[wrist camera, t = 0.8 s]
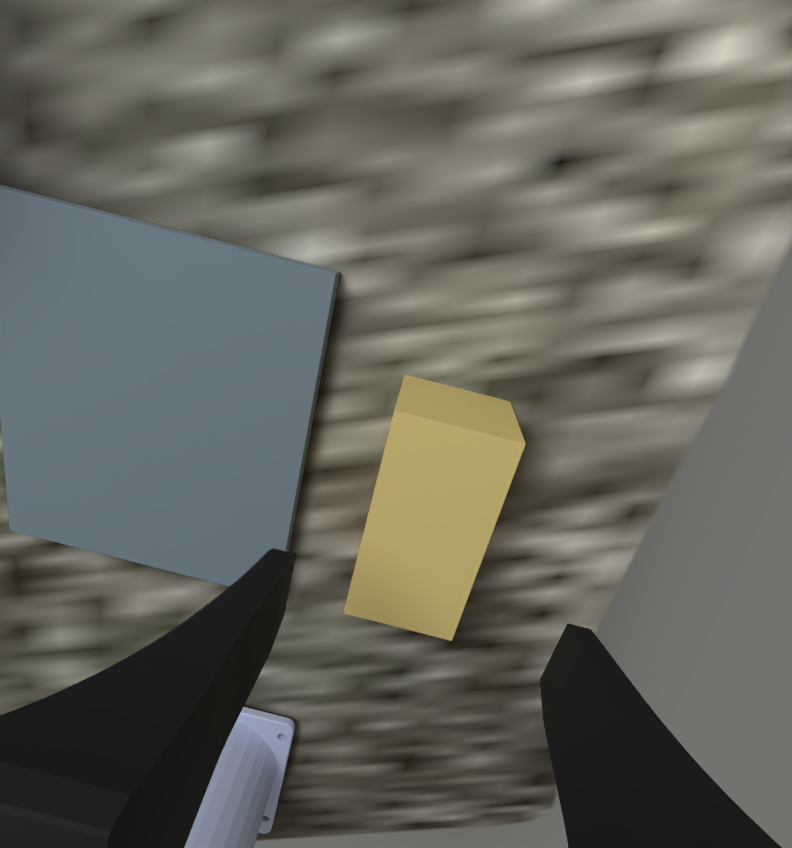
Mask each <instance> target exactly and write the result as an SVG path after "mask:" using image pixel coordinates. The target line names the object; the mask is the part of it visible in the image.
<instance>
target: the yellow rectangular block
mask: <svg viewBox="0 0 792 848" xmlns="http://www.w3.org/2000/svg"><path fill="white" fill-rule="evenodd" d="M524 447H525V441H524V438H523V435H522V433H521V430H520V427H519V425H518V422H517V419H516V416H515V414H514V411H513V408H512V405H511V403H510V401H506V400H502V399H498V398H494V397H490V396H486V395H482V394H478V393H474V392H470V391H467V390H463V389H459V388H455V387H451V386H447V385H443V384H439V383H435V382H431V381H428V380H424V379H420V378H416V377H412V376H408V375H404V379H403V382H402V386H401V389H400V393H399V396H398V400H397V404H396V407H395V411H394V415H393V419H392V423H391V427H390V431H389V434H388V438H387V442H386V446H385V450H384V454H383V458H382V462H381V466H380V470H379V474H378V478H377V482H376V486H375V490H374V494H373V498H372V502H371V506H370V510H369V514H368V518H367V522H366V526H365V530H364V533H363V537H362V541H361V545H360V549H359V553H358V557H357V561H356V565H355V569H354V573H353V577H352V581H351V585H350V589H349V593H348V597H347V601H346V605H345V609H344V613H345V614H349V615H353V616H356V617H360V618H364V619H368V620H372V621H376V622H380V623H384V624H388V625H392V626H396V627H399V628H403V629H407V630H411V631H415V632H419V633H423V634H427V635H431V636H435V637H438V638H442V639H446V640H450V641H452V639H453V636H454V634H455V631H456V628H457V626H458V623H459V620H460V618H461V615H462V612H463V610H464V607H465V604H466V602H467V599H468V596H469V594H470V591H471V588H472V586H473V583H474V580H475V578H476V575H477V572H478V570H479V567H480V564H481V562H482V559H483V556H484V554H485V551H486V548H487V546H488V543H489V540H490V538H491V535H492V532H493V530H494V527H495V524H496V522H497V519H498V516H499V514H500V511H501V508H502V506H503V503H504V500H505V498H506V495H507V492H508V490H509V487H510V484H511V482H512V479H513V476H514V474H515V471H516V468H517V466H518V463H519V460H520V458H521V455H522V452H523V450H524Z"/></svg>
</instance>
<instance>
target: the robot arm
mask: <svg viewBox="0 0 792 848" xmlns="http://www.w3.org/2000/svg"><path fill="white" fill-rule="evenodd" d="M295 556H296V554H294V553H290V552H286V551H282V550H278V549H274V548H272V549H270V550H268V551H267V552H266V553H265V554H264V555H263V556H262V557H261V558H260V559H259V560H258V561H257V562H256V563H255V564H254V565H253V566H252V567H251V568H250V569H249V570H248V571H247V572H246V573H245V574H243V575H242V576H241V577H240V578H239V579H238V580H237V581H236V582H234V583H233V584H232V585H231V586H230V587H228V588H227V589H226V590H225V591H224V592H222V593H221V594H220V595H219V596H218V597H216V598H215V599H214V600H213V601H211V602H210V603H209V604H207V605H206V606H205V607H203V608H202V609H201V610H199V611H198V612H197V613H195V614H194V615H193V616H191V617H190V618H189V619H187V620H186V621H185V622H183V623H182V624H180V625H179V626H177V627H176V628H174V629H173V630H171V631H170V632H168V633H167V634H165V635H164V636H162V637H161V638H159V639H157V640H156V641H154V642H153V643H151V644H149V645H148V646H146V647H144V648H143V649H141V650H139V651H137V652H136V653H134V654H132V655H131V656H129V657H127V658H125V659H124V660H122V661H120V662H118V663H116V664H114V665H113V666H111V667H109V668H107V669H105V670H103V671H101V672H99V673H97V674H95V675H93V676H91V677H89V678H87V679H85V680H82V681H80V682H78V683H76V684H74V685H72V686H70V687H68V688H66V689H64V690H62V691H60V692H57V693H55V694H53V695H51V696H48V697H46V698H44V699H41V700H39V701H36V702H34V703H31V704H29V705H26V706H24V707H21V708H18V709H16V710H13V711H11V712H8V713H6V714H3V715H1V716H0V848H253V847H254V844H255V841H256V838H257V834H258V833H262V834H266V833H269V832H270V831H271V829H272V825H273V821H274V817H275V813H276V808H277V804H278V800H279V795H280V791H281V787H282V782H283V778H284V773H285V769H286V765H287V760H288V756H289V752H290V747H291V743H292V739H293V734H294V730H295V723H294V722H293V721H292V720H291V719H289V718H287V717H283V716H279V715H275V714H271V713H267V712H263V711H259V710H255V709H251V708H247V707H244V705H245V703H246V701H247V699H248V696H249V694H250V692H251V690H252V688H253V686H254V684H255V682H256V680H257V678H258V676H259V674H260V672H261V670H262V668H263V666H264V664H265V662H266V660H267V658H268V656H269V654H270V652H271V649H272V646H273V644H274V641H275V638H276V636H277V633H278V630H279V627H280V625H281V622H282V619H283V616H284V613H285V608H286V603H287V598H288V592H289V587H290V582H291V577H292V571H293V566H294V561H295ZM540 684H541V698H542V710H543V720H544V726H545V731H546V736H547V741H548V746H549V751H550V756H551V761H552V766H553V770H554V775H555V780H556V785H557V790H558V794H559V799H560V804H561V809H562V813H563V818H564V823H565V829H566V834H567V841H568V847H569V848H781V847H780V846H779V845H778V844H777V843H776V842H775V841H774V840H773V839H772V838H771V837H770V836H769V835H767V833H766V832H764V831H763V830H762V829H761V828H760V827H759V826H758V825H757V824H756V823H755V822H754V821H753V820H752V819H751V818H750V817H749V816H748V815H746V814H745V812H744V811H743V810H742V809H741V808H740V807H739V806H738V805H737V804H735V802H734V801H733V800H732V799H731V798H730V797H728V795H727V794H726V793H725V792H724V791H723V790H722V789H721V788H720V787H719V786H718V785H717V784H716V783H715V782H714V781H713V780H712V778H711V777H710V776H709V775H708V774H707V773H706V772H705V771H704V770H703V769H702V768H701V767H700V766H699V765H698V763H697V762H696V761H695V760H694V759H693V758H692V757H691V756H690V755H689V753H688V752H687V751H686V750H685V749H684V748H683V746H682V745H681V744H680V743H679V742H678V741H677V739H676V738H675V737H674V736H673V735H672V733H671V732H670V731H669V730H668V729H667V727H666V726H665V725H664V724H663V723H662V721H661V720H660V719H659V718H658V717H657V715H656V714H655V713H654V711H653V710H652V709H651V708H650V706H649V705H648V704H647V703H646V701H645V700H644V699H643V697H642V696H641V695H640V693H639V692H638V691H637V690H636V688H635V687H634V686H633V684H632V683H631V682H630V680H629V679H628V678H627V677H626V675H625V674H624V672H623V671H622V670H621V668H620V667H619V666H618V664H617V663H616V662H615V660H614V659H613V658H612V657H611V655H610V654H609V652H608V651H607V650H606V649H605V647H604V646H603V644H602V643H601V642H600V641H599V639H598V638H597V637H596V635H595V634H594V633H593V632H592V630H591V629H587V628H583V627H579V626H575V625H571V624H567V626H566V628H565V630H564V632H563V634H562V636H561V638H560V640H559V642H558V644H557V646H556V648H555V650H554V652H553V654H552V656H551V658H550V660H549V662H548V664H547V667H546V669H545V671H544V673H543V675H542V677H541V679H540Z"/></svg>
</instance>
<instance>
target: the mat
mask: <svg viewBox="0 0 792 848" xmlns="http://www.w3.org/2000/svg"><path fill="white" fill-rule="evenodd" d="M339 277H340V271H336V270H332V269H328V268H324V267H320V266H316V265H313V264H309V263H305V262H301V261H297V260H293V259H289V258H285V257H281V256H277V255H274V254H270V253H266V252H262V251H258V250H254V249H250V248H246V247H242V246H238V245H235V244H231V243H227V242H223V241H219V240H215V239H211V238H207V237H203V236H199V235H196V234H192V233H188V232H184V231H180V230H176V229H172V228H168V227H164V226H160V225H157V224H153V223H149V222H145V221H141V220H137V219H133V218H129V217H125V216H121V215H118V214H114V213H110V212H106V211H102V210H98V209H94V208H90V207H86V206H82V205H79V204H75V203H71V202H67V201H63V200H59V199H55V198H51V197H47V196H43V195H40V194H36V193H32V192H28V191H24V190H20V189H16V188H12V187H8V186H4V185H0V419H1V431H2V442H3V454H4V466H5V478H6V490H7V502H8V514H9V526H10V531H14V532H18V533H22V534H26V535H30V536H34V537H38V538H42V539H46V540H50V541H54V542H57V543H61V544H65V545H69V546H73V547H77V548H81V549H85V550H89V551H93V552H97V553H101V554H105V555H108V556H112V557H116V558H120V559H124V560H128V561H132V562H136V563H140V564H144V565H148V566H152V567H156V568H159V569H163V570H167V571H171V572H175V573H179V574H183V575H187V576H191V577H195V578H199V579H203V580H207V581H210V582H214V583H218V584H222V585H226V586H231V585H232V584H233V583H234V582H236V581H237V580H238V579H239V578H240V577H241V576H242V575H243V574H245V573H246V572H247V571H248V570H249V569H250V568H251V567H252V566H253V565H254V564H255V563H256V562H257V561H258V560H259V559H260V558H261V557H262V556H263V555H264V554H265V553H266V552H267V551H268V550H270V549H272V548H274V549H278V550H282V551H286V552H289V548H290V543H291V537H292V532H293V526H294V521H295V515H296V510H297V505H298V499H299V494H300V488H301V483H302V478H303V472H304V467H305V461H306V456H307V450H308V445H309V440H310V434H311V429H312V423H313V418H314V413H315V407H316V402H317V396H318V391H319V385H320V380H321V375H322V369H323V364H324V358H325V353H326V348H327V342H328V337H329V331H330V326H331V320H332V315H333V310H334V304H335V299H336V293H337V288H338V283H339Z"/></svg>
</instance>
